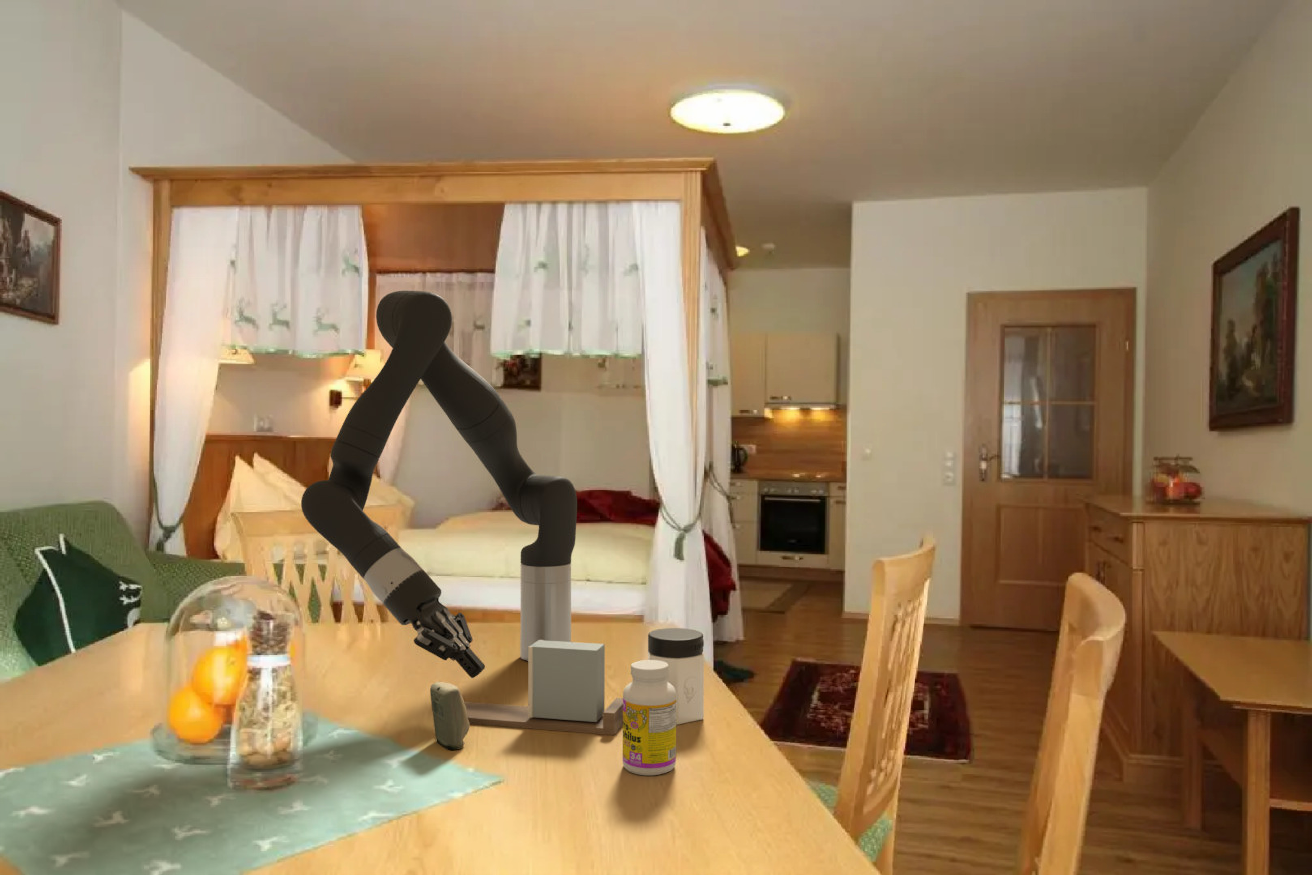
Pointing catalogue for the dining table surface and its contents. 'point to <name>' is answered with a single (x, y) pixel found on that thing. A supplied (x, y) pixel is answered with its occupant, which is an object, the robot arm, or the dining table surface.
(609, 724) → the rail
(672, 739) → the supplement bottle
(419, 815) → the dining table surface
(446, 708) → the beige rounded block
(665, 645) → the jar
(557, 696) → the grey square block
